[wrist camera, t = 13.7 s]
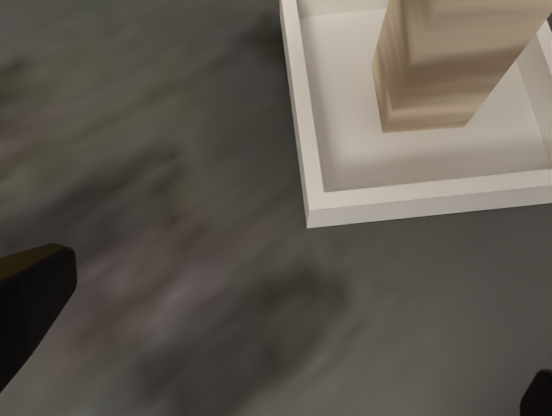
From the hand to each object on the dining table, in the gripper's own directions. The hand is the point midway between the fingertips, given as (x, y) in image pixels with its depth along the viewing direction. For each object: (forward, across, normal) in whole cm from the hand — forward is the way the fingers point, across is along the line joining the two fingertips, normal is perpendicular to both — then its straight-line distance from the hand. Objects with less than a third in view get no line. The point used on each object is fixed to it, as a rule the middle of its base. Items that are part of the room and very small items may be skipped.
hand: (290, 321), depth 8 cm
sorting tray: (+20, -4, -1) cm, 20 cm away
